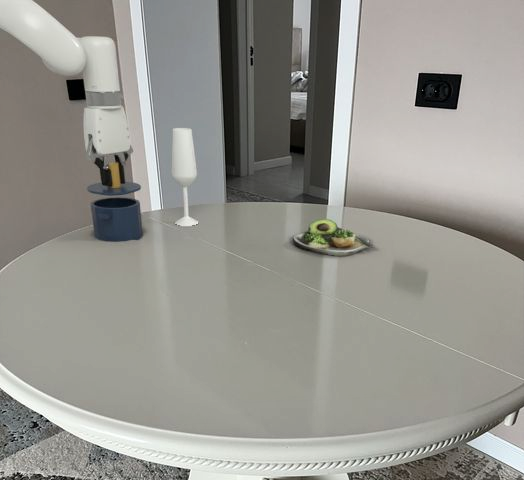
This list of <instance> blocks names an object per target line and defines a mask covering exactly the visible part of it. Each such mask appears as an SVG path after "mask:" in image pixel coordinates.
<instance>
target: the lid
mask: <svg viewBox="0 0 524 480" xmlns="http://www.w3.org/2000/svg"><path fill="white" fill-rule="evenodd" d="M108 169H110V170H111V175H112V184H113V185H112V186H111V187H108V186H104V185H102V182H97V183H93V184H89V185H88V186H87V187H86V191H87V192H88V193H90V194H94V195H100V196H109V197H110V196H111V197H115V196H125V195H128V194H132V193H137V192H139V191H141V189H142V186H141V184H140V183H137V182H132V181H125V184H121V183H120V174H119V164H118V162H114V161H108Z"/></svg>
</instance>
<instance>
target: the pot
mask: <svg viewBox="0 0 524 480" xmlns="http://www.w3.org/2000/svg"><path fill="white" fill-rule="evenodd" d="M90 209H91V218H92V225H93V232H94V233H93V234H94V238H95V239H96V240H98V241H103V242H108V243H109V242H110V243H111V242H113V243H118V242H119V243H120V242H128V241H139V240H141V239H142V238H143V236H144V235H143V233H144V232H143V221H142V212H141V202H140V200H138V199H136V198H133V197H126V196H125V197H123V196H122V197H121V196H116V197H115V196H111V197H104V198H98V199H95V200H93V201H91V202H90ZM141 237H142V238H141ZM140 238H141V239H140Z"/></svg>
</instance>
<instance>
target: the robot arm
mask: <svg viewBox="0 0 524 480" xmlns="http://www.w3.org/2000/svg"><path fill="white" fill-rule="evenodd" d="M0 29H1V30H3V31H5V32H6V33H8V34H9V35H11V36H12V37H14V38H16V39H17V40H18V41H20V42H21V43H22V44H24V45H25V46H26V47H28V48H29V49H30V50H31V51H33V52H34V53H35V54H36V55H37V56H39V57H40V58H41V60H42V63H43V64H44V65H45V66H46V68H47V69H48V70H49V71H51V72H53V73H54V74H57V75H60V76H65V77H72V76H73V77H74V76H77V75H78V74H79V73H82V78H83V86H84V93H85V99H86V107H84V108H83V119H82V120H83V122H82V123H83V140H84V148H85V151H86V152H85V155H84V157H85V159H86V160H88V161H90V162H92V163H93V164H94V165H95V166H96V168H97V169H99V175H100V181H101V182H102V185H104V186H108V187H111V186H112V185H113V184H112V175H111V170H110V169H108V162H109V156H111V155H112V158H113V162H118V164H119V174H120V183H121V184H125V182H126V175H125V166H126V165H127V163H126V162H127V160H128V158H129V157H130V156H131V155H132V154H133V153H134V149H133V147H132V145H131V138H130V137H131V136H130V131H129V130H130V129H129V124H128V120H127V115H126V111H125V108H124V106H122V101H123V100H124V95H123V93H121V85H120V76H119V68H118V67H119V65H118V58H117V56H118V55H117V47H116V42H115V41H114V40H113V39H112V38H111V37H109V36H97V35H95V36H94V35H90V36H89V35H87V36H82V37H76V35H74V34H73V33H72V32H71V31H70V30H69V29H68V28H66V27H65V26H64V25H63V24H62V23H61V22H60V21H58V20H57V19H56V18H55V17H54V16H53V15H51V14H50V13H49V12H48V11H46V10H45V9H44V8H43V7H42V6H41V5H39V4H38V3H36V2H35V0H0ZM101 182H100V183H101Z"/></svg>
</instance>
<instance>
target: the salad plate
mask: <svg viewBox="0 0 524 480" xmlns="http://www.w3.org/2000/svg"><path fill="white" fill-rule="evenodd" d="M307 228H308V230H307V231H305V232H302V233H298V234H295V235H294V236H292V237H293V238H292V241H293V244H295V246H296V247H297V246H298V247H297V248H299V249H301V248H302V249H301V250H304V249H305V251H308V250H309V251H308V252H311V253H315V252H317V253H316V254H321V253H322V255H327V254H328V256H332V255H334V256H333V257H348V256H347V255H349V256H353V255H355V254H357V253H358V252H362V251H363V250H364V249H374V248H375V247H376V246H375V245H374V244H372V243H370V239H369V238H368V237H367V236H365V235H362V234H357V233H354V232H353V231H351V230H349V229H347V230H344V229H343V228H341V227H338V224H337V222H335V221H334V220H332V219H328V218H319V219H317V220H315V221H312V222H311V223H309V226H308V227H307Z"/></svg>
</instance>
